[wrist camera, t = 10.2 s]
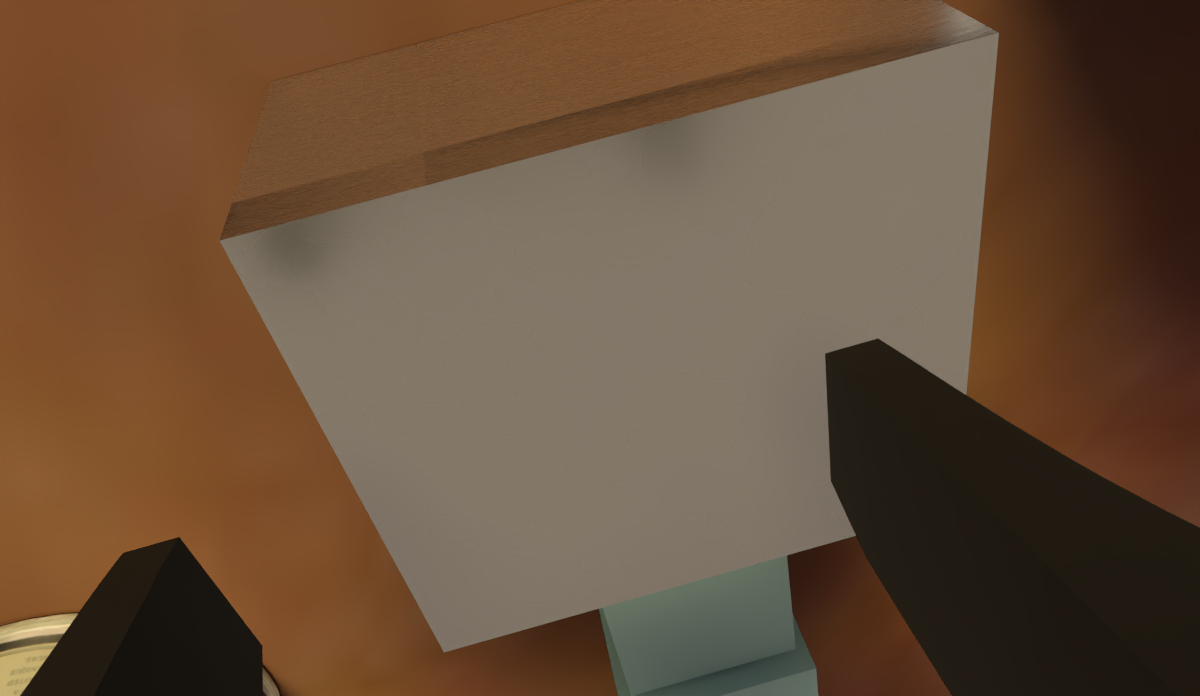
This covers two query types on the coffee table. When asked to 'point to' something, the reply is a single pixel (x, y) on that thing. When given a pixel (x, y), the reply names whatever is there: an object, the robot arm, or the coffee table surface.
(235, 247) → the housing
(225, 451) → the coffee table surface
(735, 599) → the end cover
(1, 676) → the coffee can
